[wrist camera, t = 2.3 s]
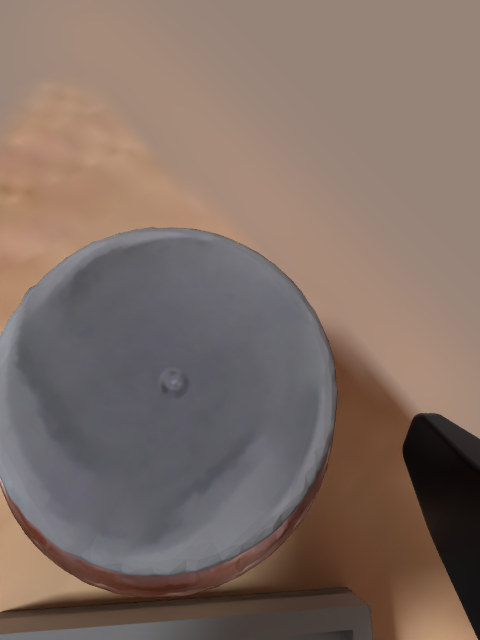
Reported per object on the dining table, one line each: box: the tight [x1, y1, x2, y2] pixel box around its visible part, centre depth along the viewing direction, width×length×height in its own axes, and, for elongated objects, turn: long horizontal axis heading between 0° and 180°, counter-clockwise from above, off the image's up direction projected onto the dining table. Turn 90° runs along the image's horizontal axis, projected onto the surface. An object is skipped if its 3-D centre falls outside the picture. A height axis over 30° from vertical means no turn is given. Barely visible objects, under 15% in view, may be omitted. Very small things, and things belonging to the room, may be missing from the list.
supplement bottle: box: [0, 227, 337, 598], centre depth 10 cm, size 6×6×11 cm
